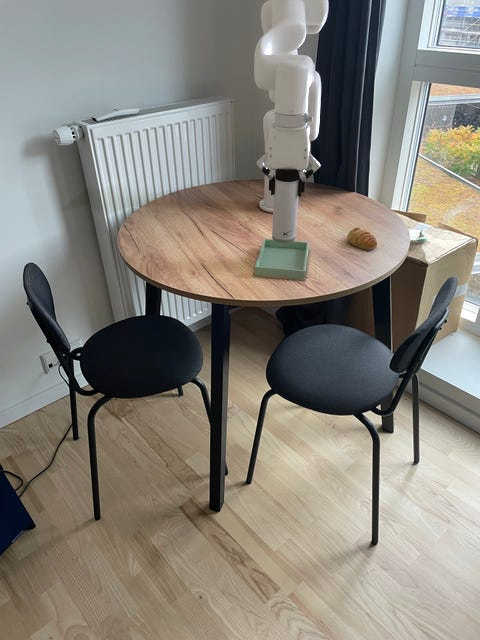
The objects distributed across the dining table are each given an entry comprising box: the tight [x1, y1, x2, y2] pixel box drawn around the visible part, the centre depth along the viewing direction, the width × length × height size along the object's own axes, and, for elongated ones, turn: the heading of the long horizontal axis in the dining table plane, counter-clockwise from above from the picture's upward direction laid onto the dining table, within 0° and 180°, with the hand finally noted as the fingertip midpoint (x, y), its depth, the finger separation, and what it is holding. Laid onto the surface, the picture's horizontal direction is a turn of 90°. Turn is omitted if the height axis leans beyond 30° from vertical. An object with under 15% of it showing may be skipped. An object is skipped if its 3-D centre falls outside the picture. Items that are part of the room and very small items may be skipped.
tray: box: [254, 238, 310, 281], centre depth 134 cm, size 17×13×3 cm
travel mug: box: [271, 169, 301, 243], centre depth 125 cm, size 6×7×20 cm
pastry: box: [346, 227, 378, 251], centre depth 143 cm, size 9×7×4 cm
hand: (286, 193), depth 124 cm, fingers closed on travel mug, 6 cm apart
